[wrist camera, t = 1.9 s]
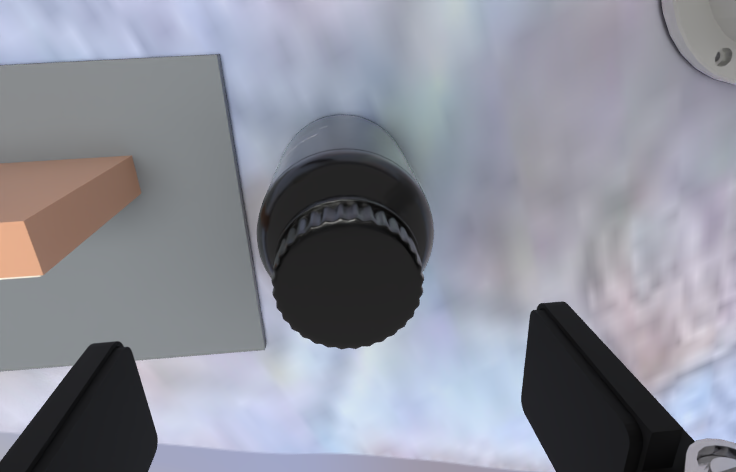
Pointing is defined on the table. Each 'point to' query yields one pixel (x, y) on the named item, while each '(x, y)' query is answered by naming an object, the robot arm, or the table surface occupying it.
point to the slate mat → (134, 214)
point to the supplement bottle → (345, 234)
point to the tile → (57, 208)
